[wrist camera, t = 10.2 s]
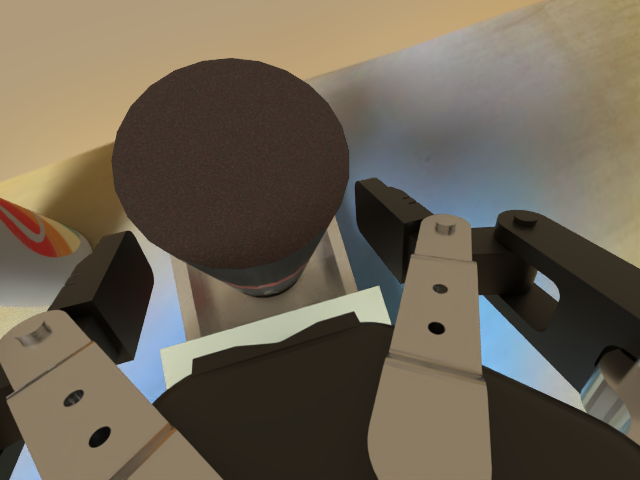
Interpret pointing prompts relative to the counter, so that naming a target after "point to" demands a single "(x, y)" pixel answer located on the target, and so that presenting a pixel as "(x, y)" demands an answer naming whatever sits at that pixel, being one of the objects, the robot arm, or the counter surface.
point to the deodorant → (233, 171)
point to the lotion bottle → (35, 256)
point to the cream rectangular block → (272, 330)
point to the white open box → (240, 309)
